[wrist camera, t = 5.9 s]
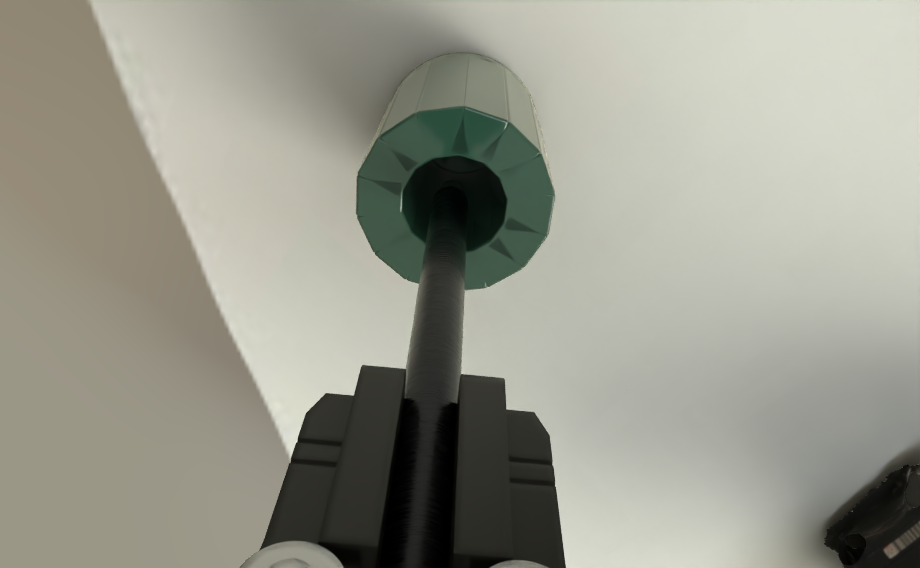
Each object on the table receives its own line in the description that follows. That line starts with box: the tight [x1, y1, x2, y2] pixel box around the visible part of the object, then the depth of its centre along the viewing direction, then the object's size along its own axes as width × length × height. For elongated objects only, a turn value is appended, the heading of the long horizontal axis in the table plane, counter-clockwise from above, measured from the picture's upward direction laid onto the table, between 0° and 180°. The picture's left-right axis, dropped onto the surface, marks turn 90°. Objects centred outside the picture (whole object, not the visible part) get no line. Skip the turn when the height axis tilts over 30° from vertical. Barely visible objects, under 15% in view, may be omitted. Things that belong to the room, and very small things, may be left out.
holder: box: [356, 53, 555, 290], centre depth 22 cm, size 5×6×7 cm
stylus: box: [379, 180, 468, 568], centre depth 14 cm, size 1×1×15 cm
